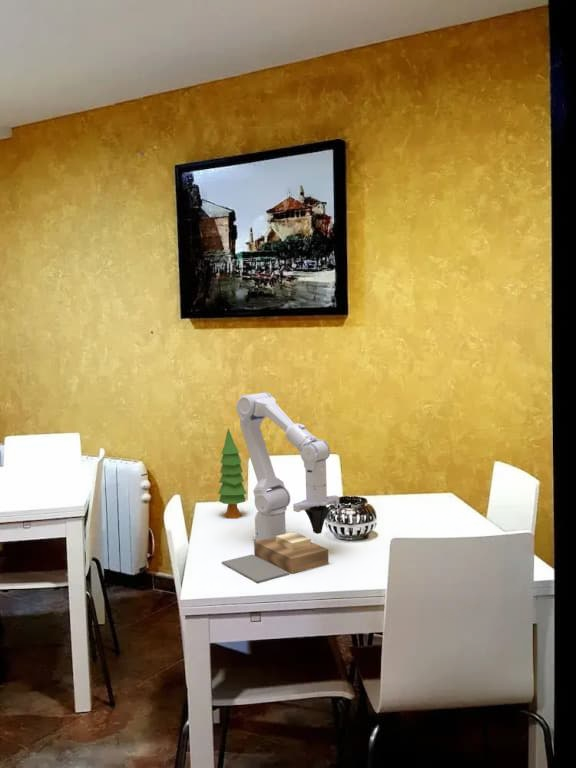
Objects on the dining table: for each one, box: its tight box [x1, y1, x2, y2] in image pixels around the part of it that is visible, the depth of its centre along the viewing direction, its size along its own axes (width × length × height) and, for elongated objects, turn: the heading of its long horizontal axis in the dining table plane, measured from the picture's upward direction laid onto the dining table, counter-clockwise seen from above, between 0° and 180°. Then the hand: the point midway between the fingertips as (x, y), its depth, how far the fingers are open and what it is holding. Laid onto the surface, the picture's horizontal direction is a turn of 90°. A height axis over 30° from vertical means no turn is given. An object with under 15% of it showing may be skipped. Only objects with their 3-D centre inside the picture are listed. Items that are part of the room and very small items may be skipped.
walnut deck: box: [253, 537, 329, 575], centre depth 190 cm, size 18×12×4 cm, turn 35°
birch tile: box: [276, 531, 312, 550], centre depth 190 cm, size 8×6×2 cm
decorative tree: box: [217, 428, 247, 519], centre depth 234 cm, size 10×9×30 cm
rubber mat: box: [221, 553, 290, 584], centre depth 184 cm, size 18×10×1 cm, turn 35°
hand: (317, 532), depth 195 cm, fingers closed
